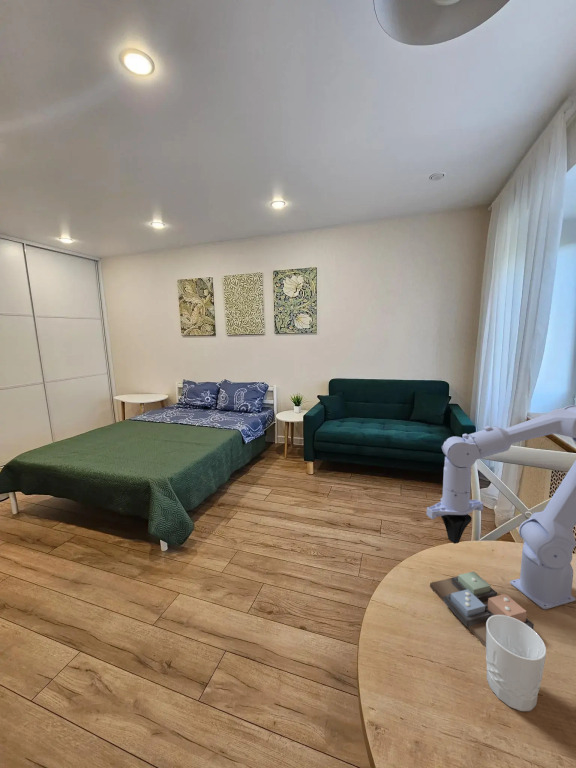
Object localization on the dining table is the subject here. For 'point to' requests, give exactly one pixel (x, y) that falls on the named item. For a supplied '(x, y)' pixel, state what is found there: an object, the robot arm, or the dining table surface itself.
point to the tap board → (473, 622)
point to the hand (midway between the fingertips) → (453, 540)
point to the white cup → (514, 661)
